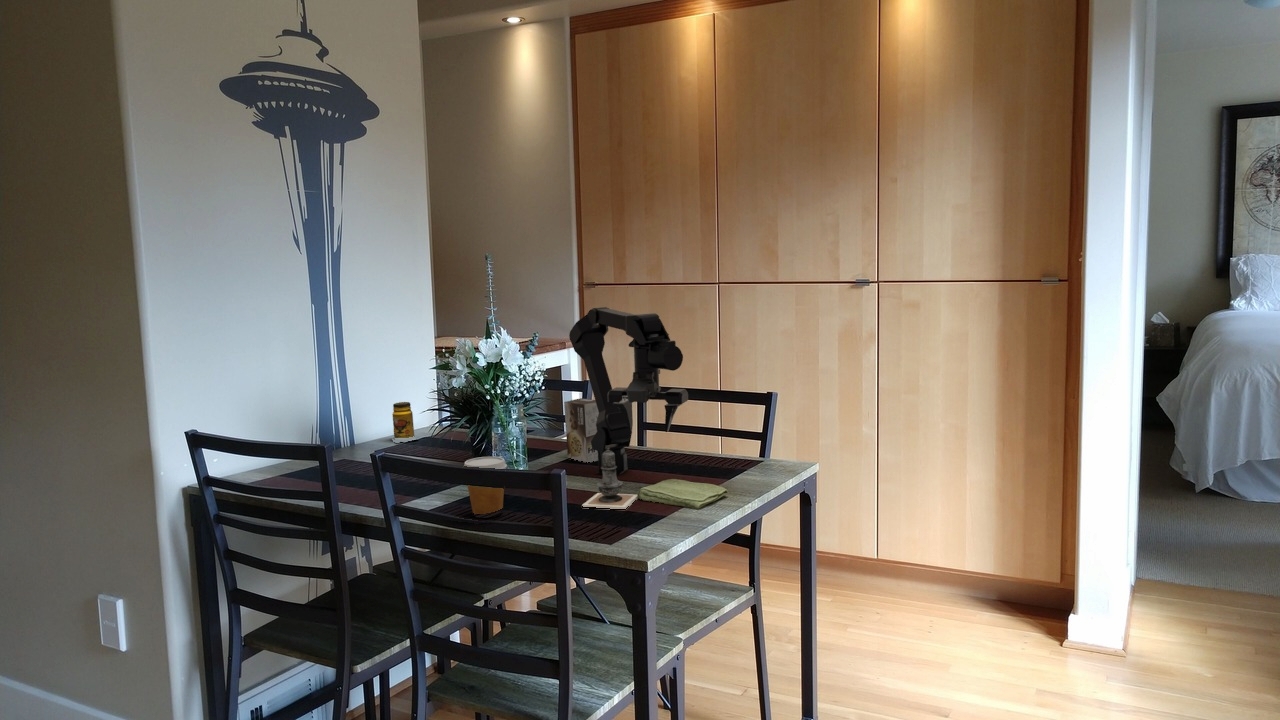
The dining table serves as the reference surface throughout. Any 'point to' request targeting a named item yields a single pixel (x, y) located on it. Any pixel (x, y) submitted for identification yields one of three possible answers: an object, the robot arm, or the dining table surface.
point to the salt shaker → (609, 479)
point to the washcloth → (682, 493)
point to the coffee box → (581, 429)
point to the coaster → (623, 504)
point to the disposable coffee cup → (483, 496)
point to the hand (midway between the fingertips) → (648, 431)
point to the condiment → (403, 420)
